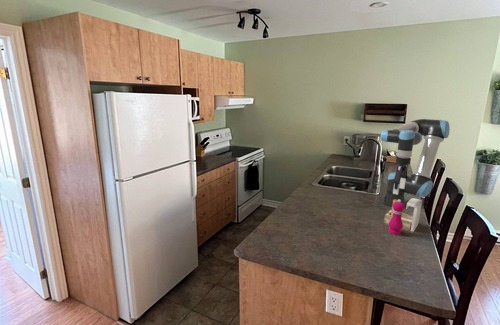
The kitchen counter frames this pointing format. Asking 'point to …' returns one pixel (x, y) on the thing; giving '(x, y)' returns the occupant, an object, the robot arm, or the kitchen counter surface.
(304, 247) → the kitchen counter surface
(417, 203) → the awning
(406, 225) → the socket block
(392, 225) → the pepper mill
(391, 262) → the kitchen counter surface
